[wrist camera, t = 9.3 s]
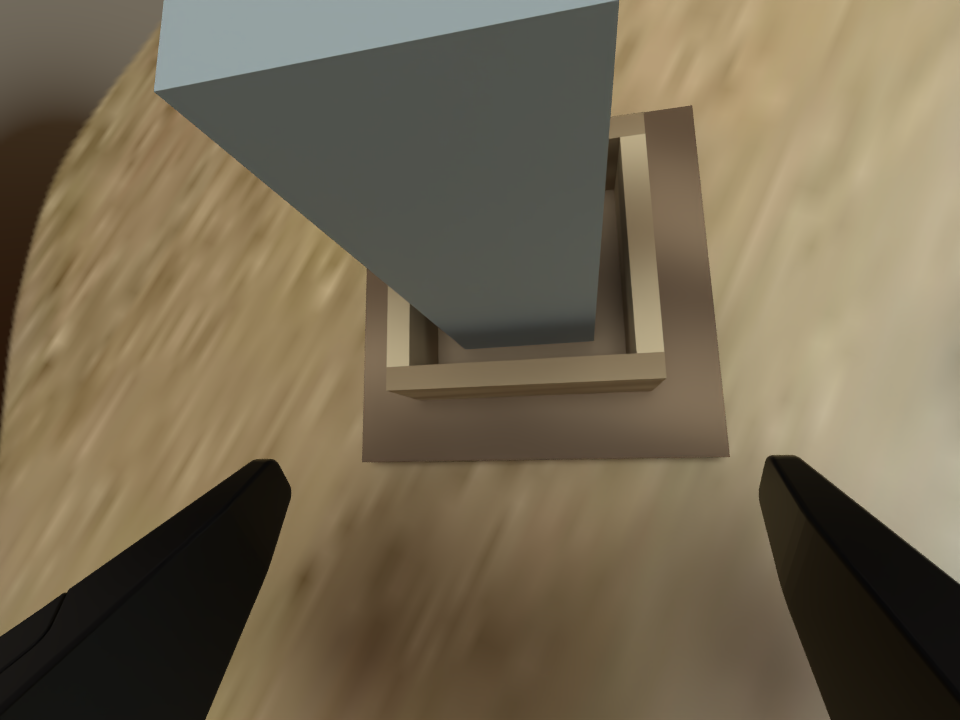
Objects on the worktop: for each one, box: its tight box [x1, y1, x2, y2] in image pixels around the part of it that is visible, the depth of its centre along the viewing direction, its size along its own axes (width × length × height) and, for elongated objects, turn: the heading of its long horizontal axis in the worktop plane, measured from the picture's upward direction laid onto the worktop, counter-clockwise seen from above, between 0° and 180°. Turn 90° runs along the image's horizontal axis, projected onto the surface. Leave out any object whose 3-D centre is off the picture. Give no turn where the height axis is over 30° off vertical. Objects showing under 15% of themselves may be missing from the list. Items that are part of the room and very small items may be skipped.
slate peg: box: [154, 0, 619, 349], centre depth 11 cm, size 4×4×13 cm
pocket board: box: [362, 105, 730, 462], centre depth 16 cm, size 12×12×4 cm
